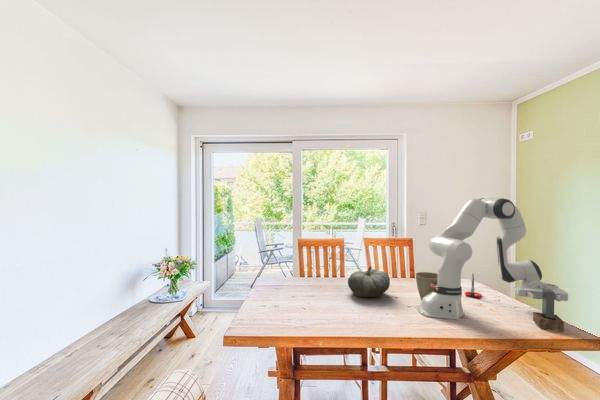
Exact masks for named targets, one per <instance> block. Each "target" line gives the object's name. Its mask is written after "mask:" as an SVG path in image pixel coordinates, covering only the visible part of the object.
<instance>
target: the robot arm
mask: <svg viewBox="0 0 600 400" xmlns="http://www.w3.org/2000/svg"><path fill="white" fill-rule="evenodd" d="M484 218H486V219H491V220H495V219H496V220H498V223H499V227H500V234H499V236H498V237H496V252H497V262H498V276H499V277H500V279H501V280H502V281H504V282H506V283H508V284H510V283H515V282H518V281H519V283H520V284H519V285H517V286H516V287H513V290H514V291H515V292H516V294H517V296H519V297H525V298H532V299H534V300H542V291H543V288H545V289H551V290H552V291H554V301H556V302H561V301H563V302H567V301H569V294H568V292H567V291H565V290H563V289H562V288H559V286H558V285H556V284H555V285H554V284H550V283H547V282H543V281H541V280H542V278H543V274H542V273H543V272H542V270H541V269H540V266H539V265H538V264H537V263H536V262H535V261H533V260H531V259H526V260H525V259H523V260H520V261H515V262H509V263H508V250H509V248H510V247H511V246H513V245H514V244H516V243H518V242H520V241H521V240H522V239H523V238H524V237H525V236H526V233H527V227H526V223H525V221H524V218H523V216H522V213H521V212H520V209H519V208H518V207H517V206H516V205H515V204H514V203H513V201H512V200H511V199H507V198H504V197H503V198H498V197H486V198H483V197H482V198H479V199H478V198H471V199H469V200H468V201H467V202H466V203H465V204H464V205H463V206H462V208H460V210H459V211H458V213H457V215H456V216H455V218H454V219H453V221H451V223H450V224H449V226H448V227H446V228H445V229H444V230H443V231H442V232H441V233H439V234H438V235H436V236H433V237H432V238H431V239H430V240H429V242H428V247H429V250H430V252H431V253H433V254H434V255H436V256H438V257H441V258H443V261H442V264H441V266H439V267H438V268H437V270H436V272H437V273H436V274H437V284H436V285H434V284H430V286H431V287H432V288H434V291H432V292H431V293H429V294H428V295H426V296H425V297H423V299H422V301H421V304H418V305H417V306H416V310H417V312H419V313H420V315H423V316H424V317H429V318H437V319H449V320H459V319H460V318H461V317H463V316H464V315H465V313H464V308H463V304H462V294H463V291H462V290H463V289H462V272H463V271H462V270H463V268H464V265H465V263H466V262H467V261H469V260H470V259H471V258H472V255H473V248H472V247H471V246H472V245H470V244H469V243H467V242H466V241H464V240H466V239H467V238H470V237H471V236H473V235H474V232H475V231H476V230H477V229H478V227H479V225H480V223H481V222H482V221H483V219H484Z"/></svg>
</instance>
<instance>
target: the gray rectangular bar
mask: <svg viewBox="0 0 600 400" xmlns="http://www.w3.org/2000/svg"><path fill="white" fill-rule="evenodd" d="M541 303H542V304H541V306H542V307H541V313H542V316H543V317H544V318H545V319H552V320H554V315H555V300H554V291H552V290H551V289H545V288H543V291H542V299H541Z"/></svg>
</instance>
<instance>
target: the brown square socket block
mask: <svg viewBox="0 0 600 400" xmlns="http://www.w3.org/2000/svg"><path fill="white" fill-rule="evenodd" d="M533 321H534V322H535V323H534V322H533ZM532 322H533V323H534V324H535V326H537V328H538V327H539V328H541V329H540V330H546V329H550V330H549V331H553V330H558V331H557V332H560V331H564V332H565V321H564V320H563V319H562V318H560V316H558V315H557V314H554V320H552V319H545V318H544V317H543V316H542V312H536V311H532ZM539 328H538V329H539Z"/></svg>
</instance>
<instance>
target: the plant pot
mask: <svg viewBox="0 0 600 400" xmlns="http://www.w3.org/2000/svg"><path fill="white" fill-rule="evenodd" d="M415 279H416V286H417V291H418V294H419V298H420V300H421V302H422V299H423V297H425V296H426V295H428V294H429V293H431V292H432V291H434V288H432V287H431V286H430V284H434V285H436V284H437V273H435V272H429V271H428V272H427V271H422V272H421V271H420V272H416V273H415Z"/></svg>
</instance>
